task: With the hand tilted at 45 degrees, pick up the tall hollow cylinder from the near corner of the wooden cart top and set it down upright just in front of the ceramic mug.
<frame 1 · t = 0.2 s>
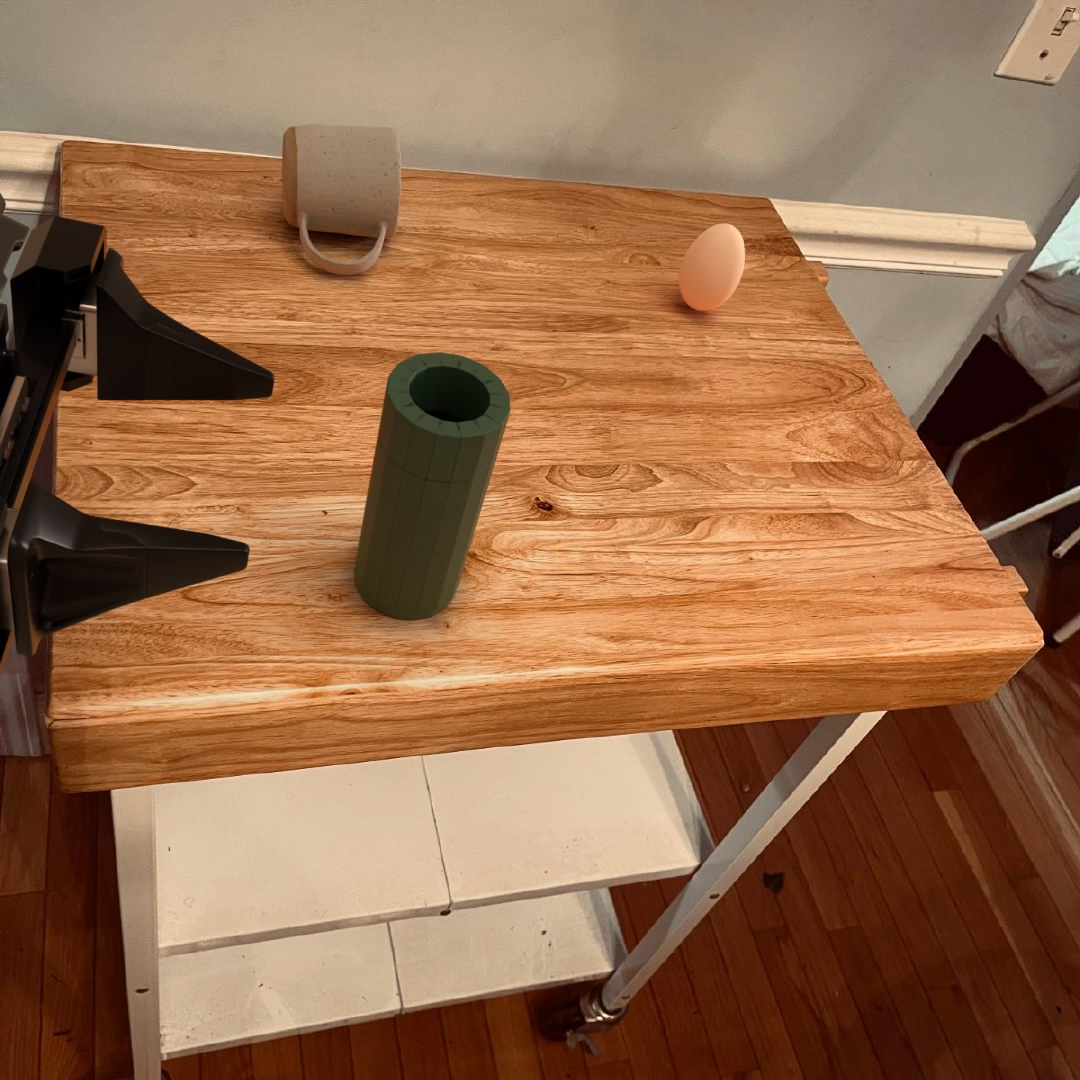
hand: (261, 465, 41), 16 cm above the kitchen cart, tool horizontal, fingers open, 9 cm apart
ceramic mug: (341, 237, 80), on the kitchen cart
hollow cylinder: (405, 578, 60), on the kitchen cart
egg: (694, 308, 85), on the kitchen cart
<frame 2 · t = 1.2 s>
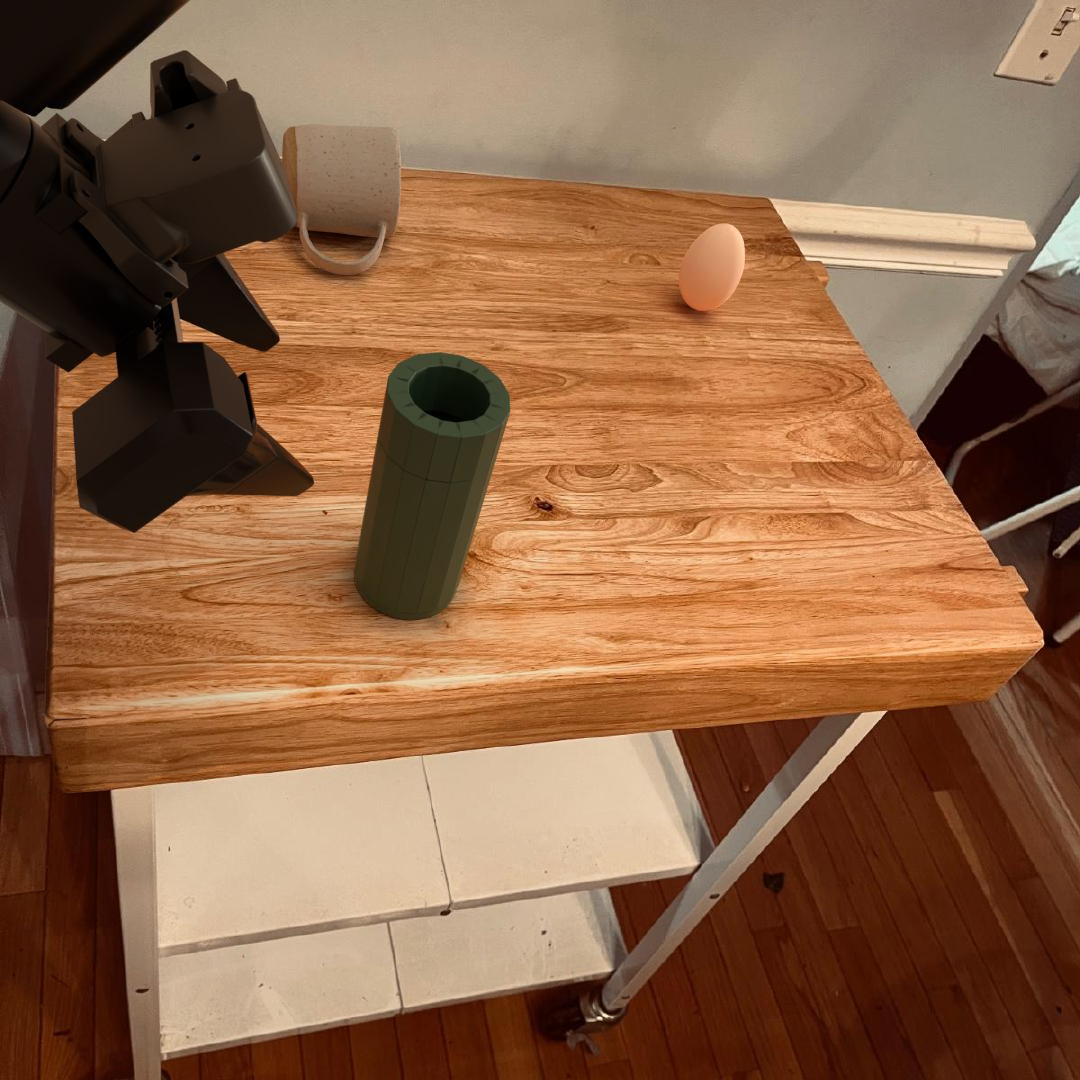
hand: (288, 412, 48), 13 cm above the kitchen cart, tool tilted 45°, fingers open, 9 cm apart
nothing on the kitchen cart moved.
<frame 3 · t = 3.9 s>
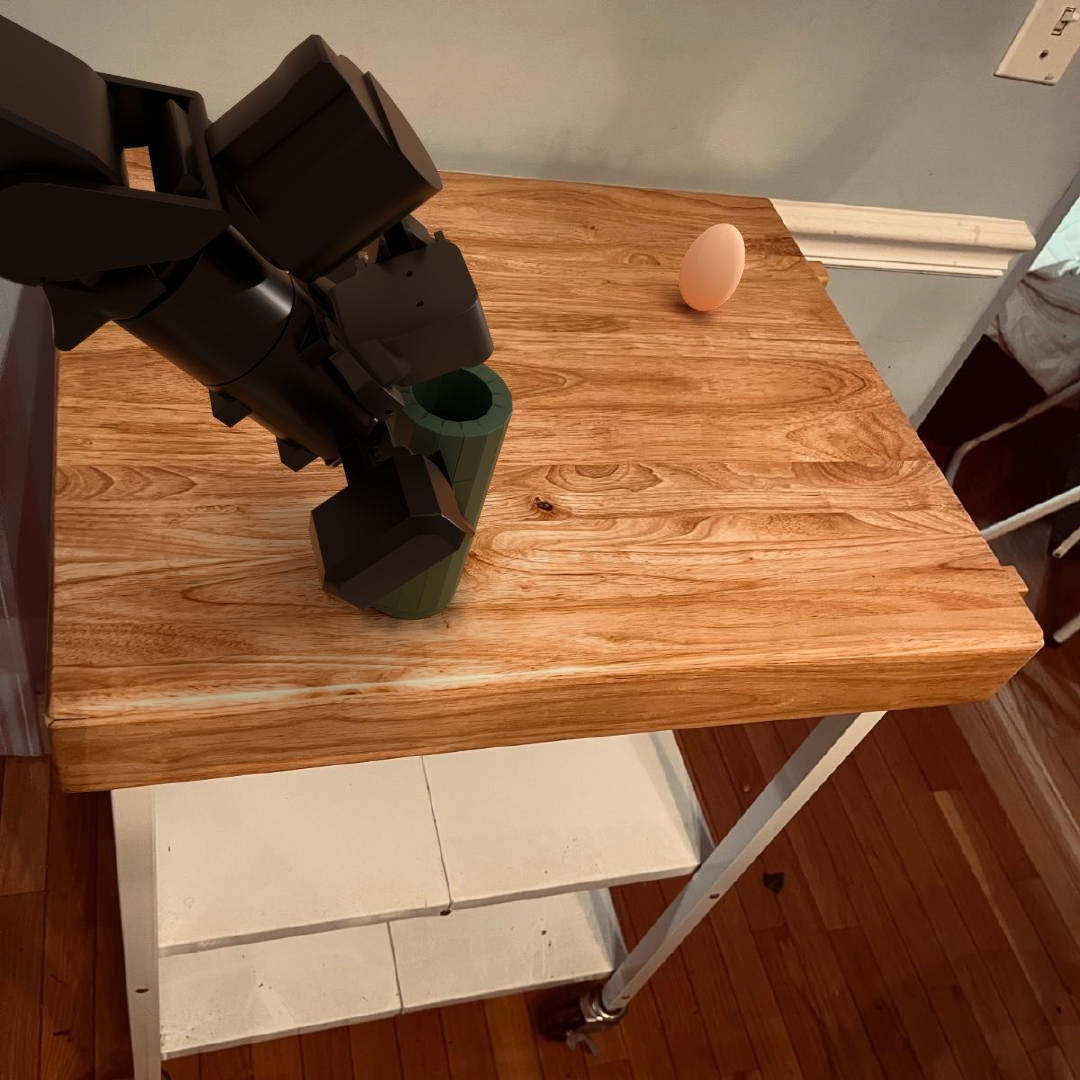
hand: (452, 492, 55), 7 cm above the kitchen cart, tool tilted 45°, fingers closed on hollow cylinder, 6 cm apart
hollow cylinder: (405, 577, 60), on the kitchen cart, touching gripper
everything else where it was.
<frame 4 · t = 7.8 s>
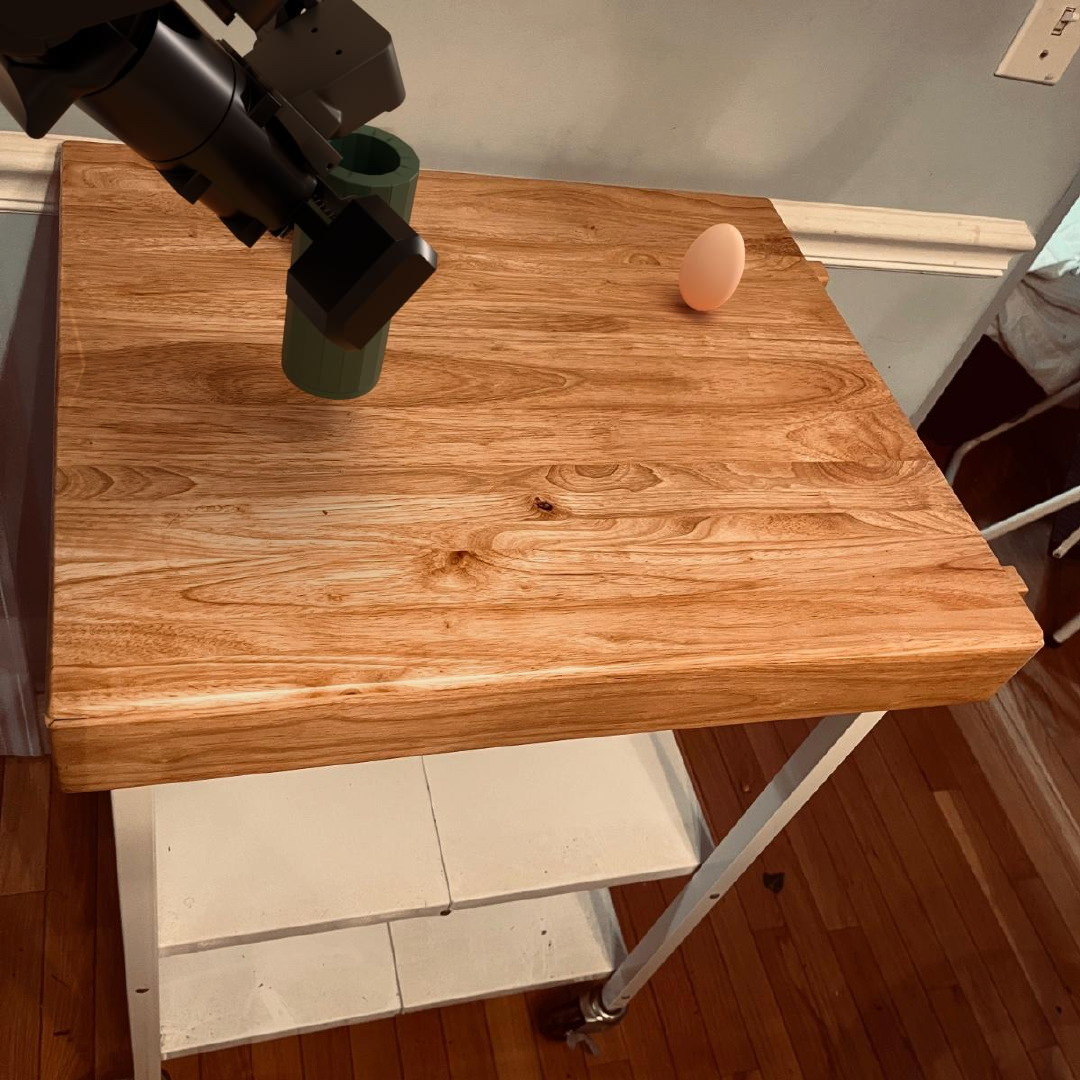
hand: (365, 264, 59), 11 cm above the kitchen cart, tool tilted 45°, fingers closed on hollow cylinder, 6 cm apart
hollow cylinder: (331, 367, 63), point 4 cm above the kitchen cart, touching gripper
everything else where it was.
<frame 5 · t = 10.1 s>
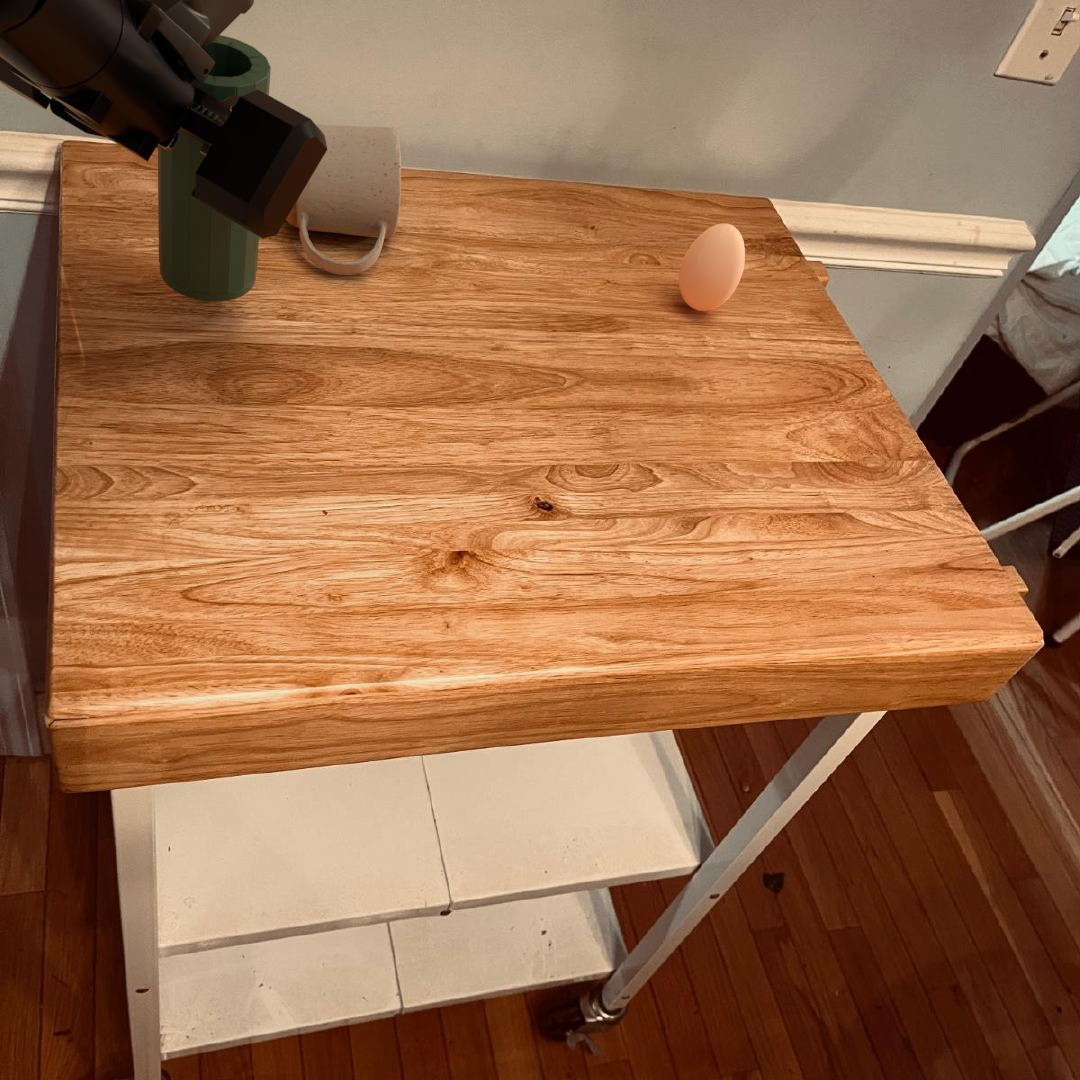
hand: (227, 167, 64), 10 cm above the kitchen cart, tool tilted 45°, fingers closed on hollow cylinder, 6 cm apart
hollow cylinder: (208, 273, 68), point 3 cm above the kitchen cart, touching gripper
everything else where it was.
when the fingers open (7 cm above the kitchen cart, at t = 11.7 s): hollow cylinder stays where it is, on the kitchen cart.
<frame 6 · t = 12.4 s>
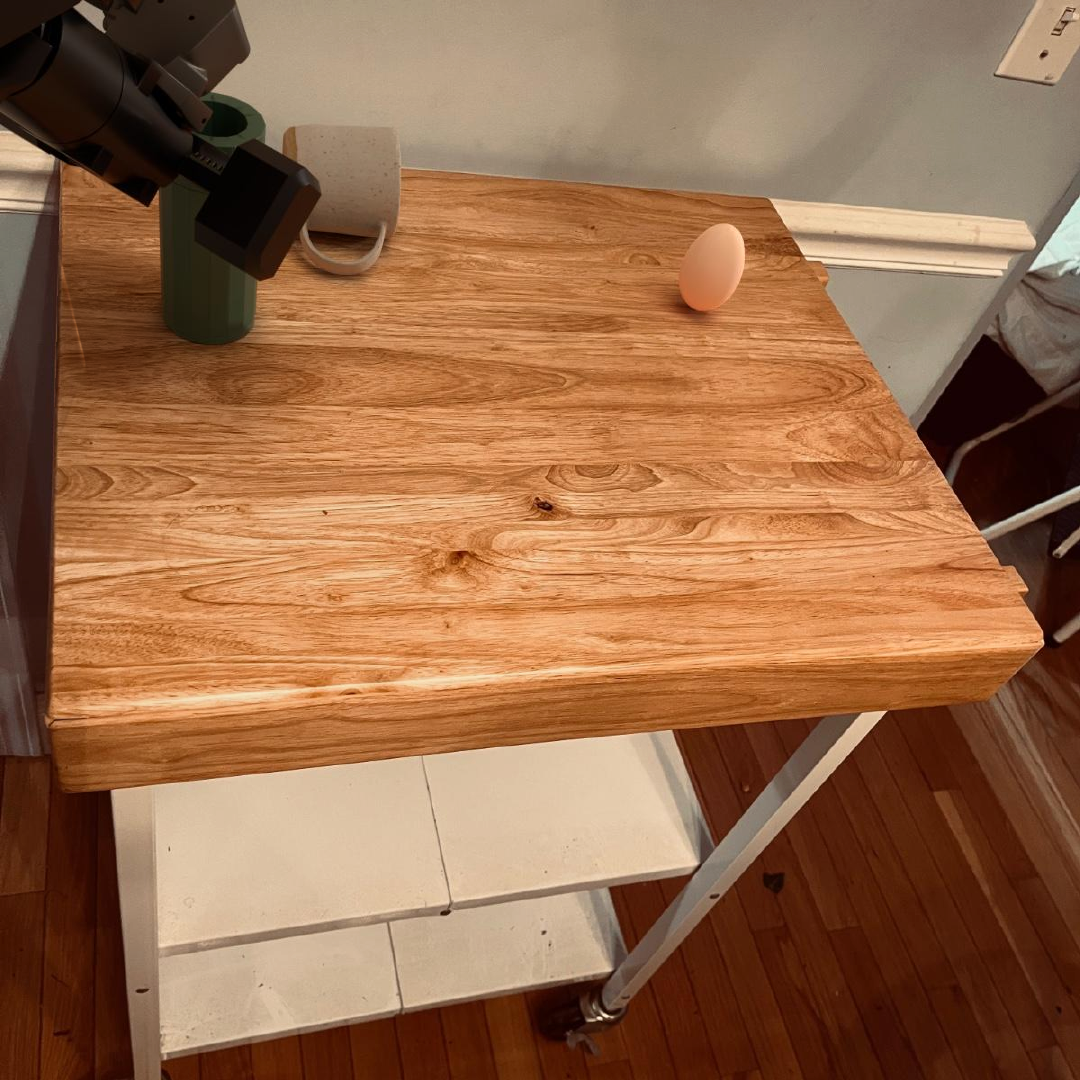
hand: (225, 205, 66), 8 cm above the kitchen cart, tool tilted 45°, fingers open, 9 cm apart
hollow cylinder: (209, 316, 70), on the kitchen cart
everything else where it was.
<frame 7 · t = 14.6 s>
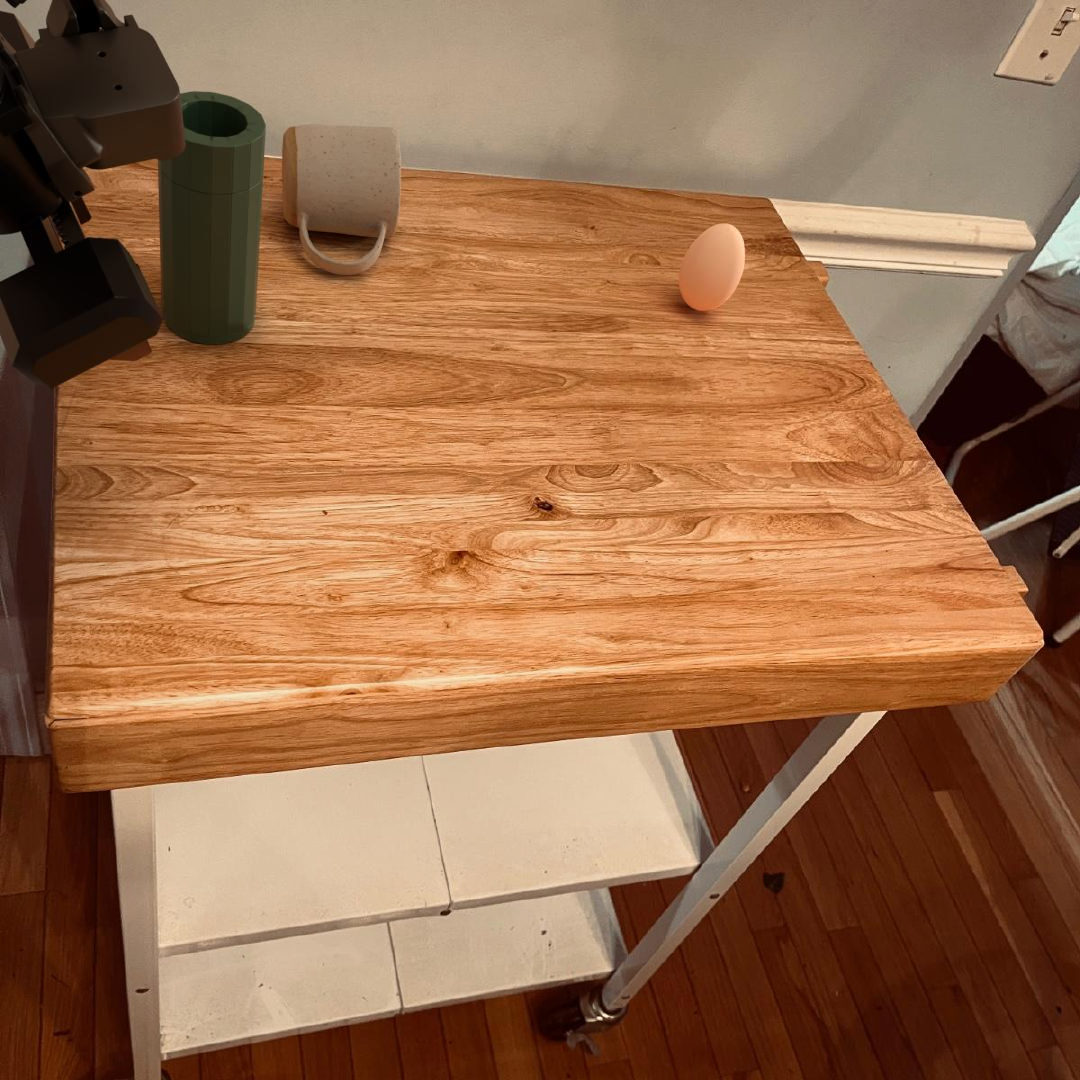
hand: (112, 286, 56), 9 cm above the kitchen cart, tool tilted 30°, fingers open, 9 cm apart
nothing on the kitchen cart moved.
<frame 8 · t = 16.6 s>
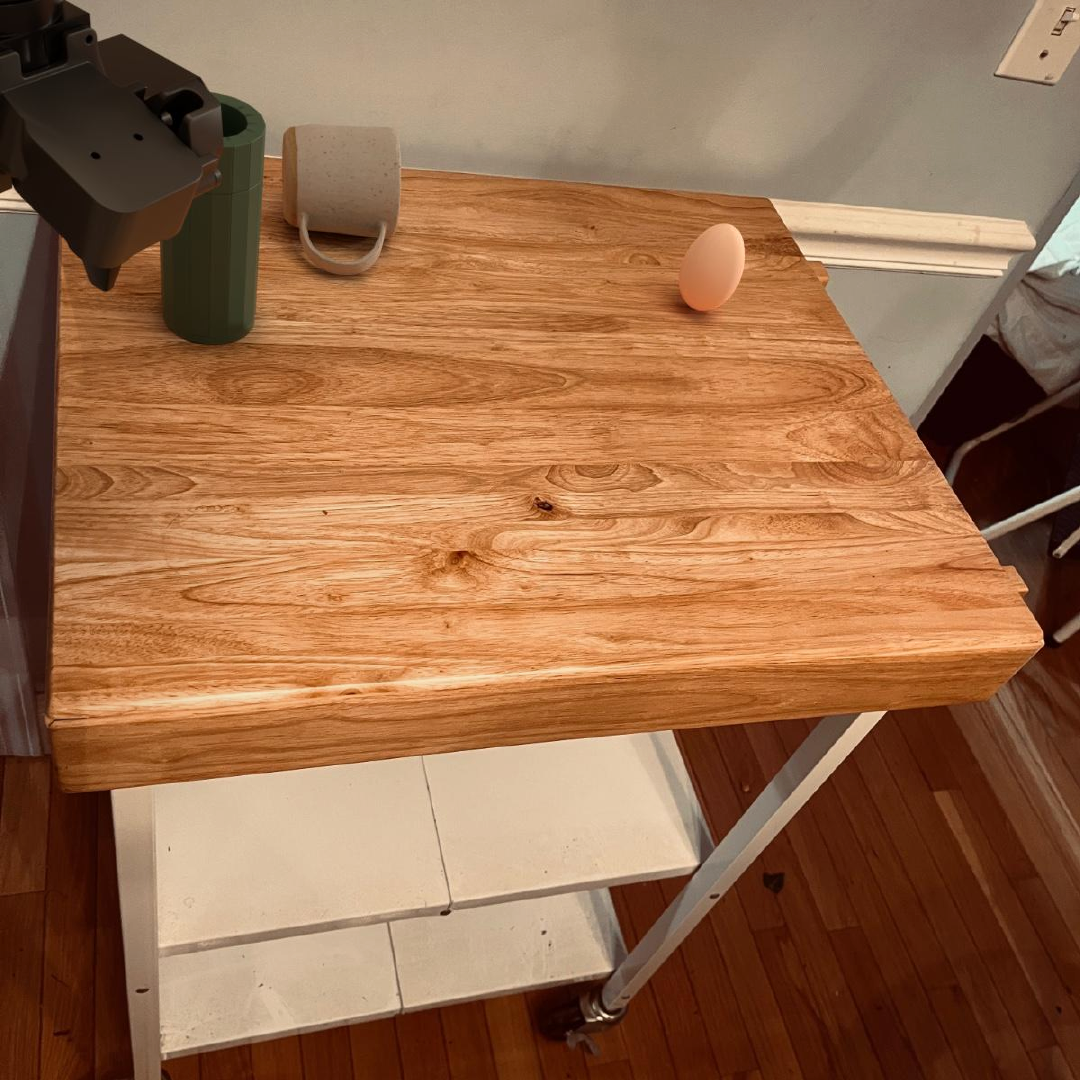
hand: (22, 330, 47), 13 cm above the kitchen cart, tool pointing down, fingers open, 9 cm apart
nothing on the kitchen cart moved.
at the end: hollow cylinder inside the target area on the kitchen cart beside the ceramic mug (0.1 cm from its centre), on the kitchen cart; hollow cylinder tilted 0°; the gripper is holding nothing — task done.
